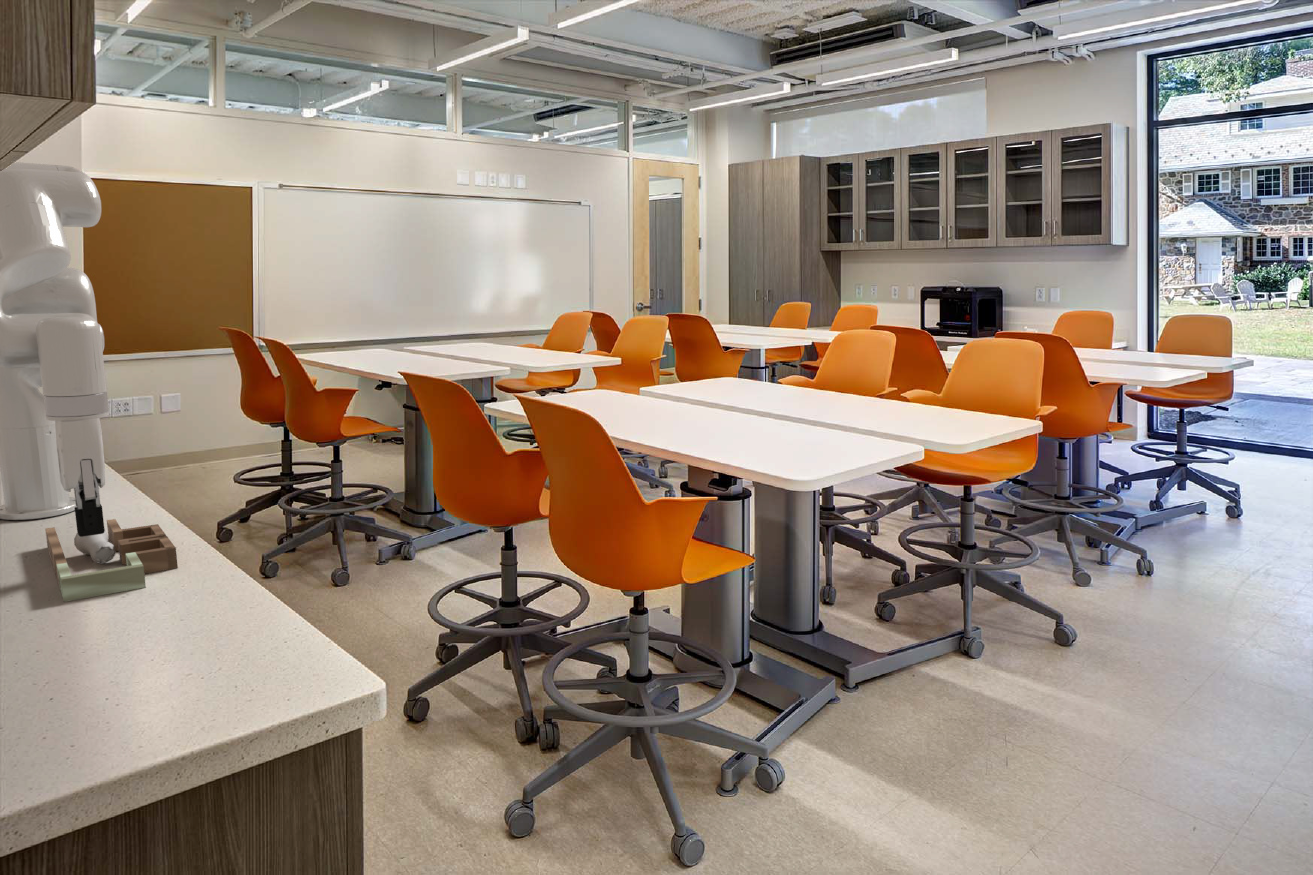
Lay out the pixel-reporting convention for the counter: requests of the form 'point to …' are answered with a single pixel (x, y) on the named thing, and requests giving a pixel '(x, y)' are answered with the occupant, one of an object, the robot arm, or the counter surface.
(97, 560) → the rook chess piece
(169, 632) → the counter surface
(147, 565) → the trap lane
